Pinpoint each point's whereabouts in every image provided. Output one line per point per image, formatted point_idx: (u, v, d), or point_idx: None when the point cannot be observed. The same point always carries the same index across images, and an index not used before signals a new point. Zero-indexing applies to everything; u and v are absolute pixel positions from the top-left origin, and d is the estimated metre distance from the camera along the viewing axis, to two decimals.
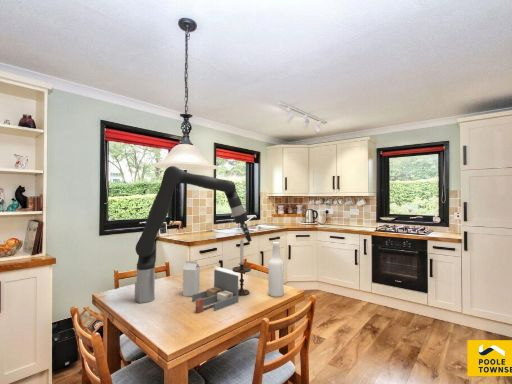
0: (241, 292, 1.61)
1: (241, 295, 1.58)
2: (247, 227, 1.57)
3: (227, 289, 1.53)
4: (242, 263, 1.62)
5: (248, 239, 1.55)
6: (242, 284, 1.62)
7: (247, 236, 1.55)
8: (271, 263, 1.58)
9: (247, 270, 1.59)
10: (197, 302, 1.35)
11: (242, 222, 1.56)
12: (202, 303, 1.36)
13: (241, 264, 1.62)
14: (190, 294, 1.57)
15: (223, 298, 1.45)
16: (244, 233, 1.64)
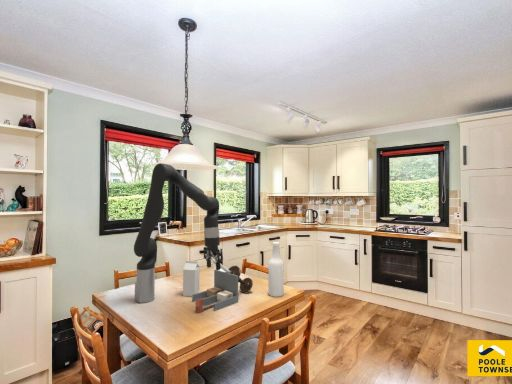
0: (246, 287, 1.64)
1: (247, 291, 1.62)
2: None
3: (227, 289, 1.53)
4: (229, 272, 1.55)
5: (218, 267, 1.36)
6: (242, 281, 1.62)
7: (218, 263, 1.36)
8: (271, 263, 1.58)
9: (238, 276, 1.54)
10: (197, 302, 1.35)
11: (216, 246, 1.38)
12: (202, 303, 1.36)
13: None
14: (190, 294, 1.57)
15: (223, 298, 1.45)
16: (207, 260, 1.43)
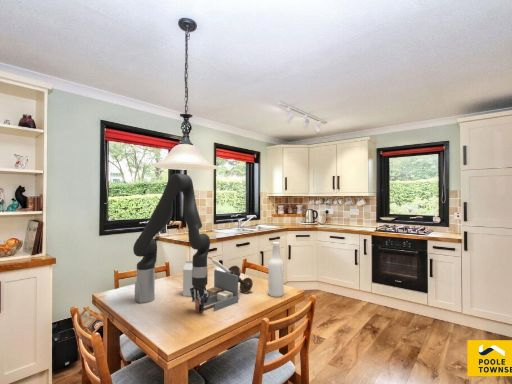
0: (246, 287, 1.64)
1: (247, 291, 1.62)
2: None
3: (227, 289, 1.53)
4: (229, 272, 1.55)
5: (201, 309, 1.34)
6: (242, 281, 1.62)
7: (201, 305, 1.34)
8: (271, 263, 1.58)
9: (238, 276, 1.54)
10: (197, 302, 1.35)
11: (204, 286, 1.34)
12: None
13: None
14: (190, 294, 1.57)
15: (223, 298, 1.45)
16: None
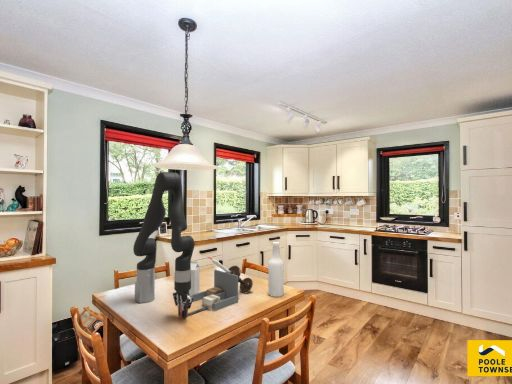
0: (246, 287, 1.64)
1: (247, 291, 1.62)
2: None
3: (227, 289, 1.53)
4: (229, 272, 1.55)
5: (184, 315, 1.27)
6: (242, 281, 1.62)
7: (184, 311, 1.27)
8: (271, 263, 1.58)
9: (238, 276, 1.54)
10: (181, 307, 1.28)
11: (187, 291, 1.27)
12: None
13: None
14: (190, 294, 1.57)
15: (209, 303, 1.38)
16: (179, 307, 1.30)
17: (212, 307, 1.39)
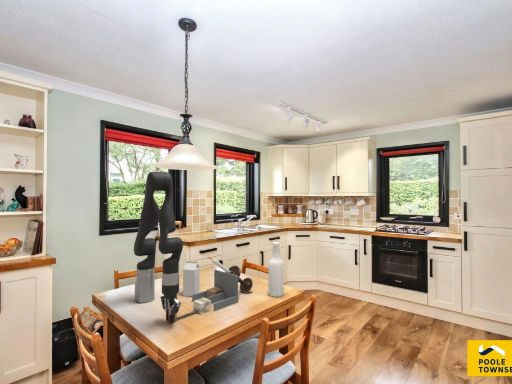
0: (246, 287, 1.64)
1: (247, 291, 1.62)
2: None
3: (227, 289, 1.53)
4: (229, 272, 1.55)
5: (172, 319, 1.23)
6: (242, 281, 1.62)
7: (172, 315, 1.23)
8: (271, 263, 1.58)
9: (238, 276, 1.54)
10: None
11: (174, 295, 1.22)
12: None
13: None
14: (190, 294, 1.57)
15: (200, 306, 1.34)
16: (166, 311, 1.25)
17: (202, 311, 1.34)
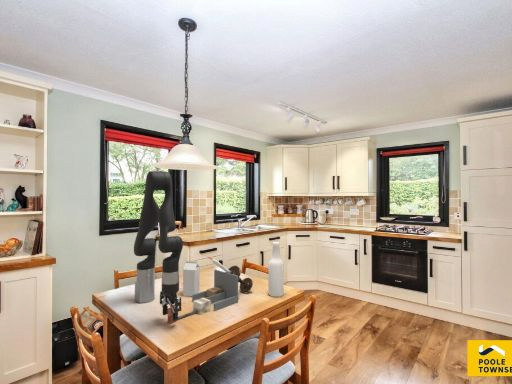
0: (246, 287, 1.64)
1: (247, 291, 1.62)
2: None
3: (227, 289, 1.53)
4: (229, 272, 1.55)
5: (175, 317, 1.21)
6: (242, 281, 1.62)
7: (175, 313, 1.21)
8: (271, 263, 1.58)
9: (238, 276, 1.54)
10: (169, 311, 1.24)
11: (174, 294, 1.22)
12: None
13: None
14: (190, 294, 1.57)
15: (199, 306, 1.34)
16: (163, 306, 1.27)
17: (202, 311, 1.34)
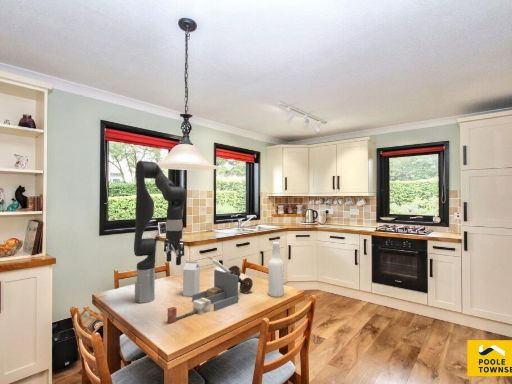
0: (246, 287, 1.64)
1: (247, 291, 1.62)
2: None
3: (227, 289, 1.53)
4: (229, 272, 1.55)
5: (178, 262, 1.27)
6: (242, 281, 1.62)
7: (179, 258, 1.28)
8: (271, 263, 1.58)
9: (238, 276, 1.54)
10: (169, 311, 1.24)
11: (178, 240, 1.29)
12: (175, 312, 1.25)
13: None
14: (190, 294, 1.57)
15: (199, 306, 1.34)
16: (167, 253, 1.34)
17: (202, 311, 1.34)
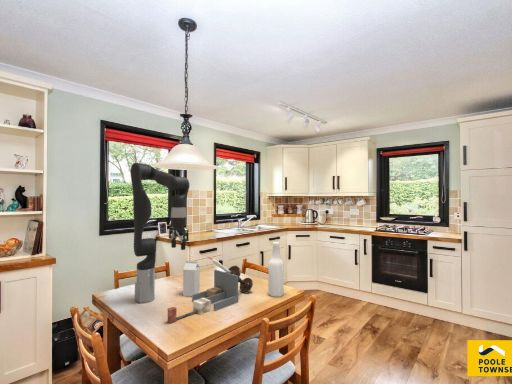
0: (246, 287, 1.64)
1: (247, 291, 1.62)
2: None
3: (227, 289, 1.53)
4: (229, 272, 1.55)
5: (183, 247, 1.36)
6: (242, 281, 1.62)
7: (183, 243, 1.36)
8: (271, 263, 1.58)
9: (238, 276, 1.54)
10: (169, 311, 1.24)
11: (182, 226, 1.38)
12: (175, 312, 1.25)
13: None
14: (190, 294, 1.57)
15: (199, 306, 1.34)
16: (172, 240, 1.42)
17: (202, 311, 1.34)
